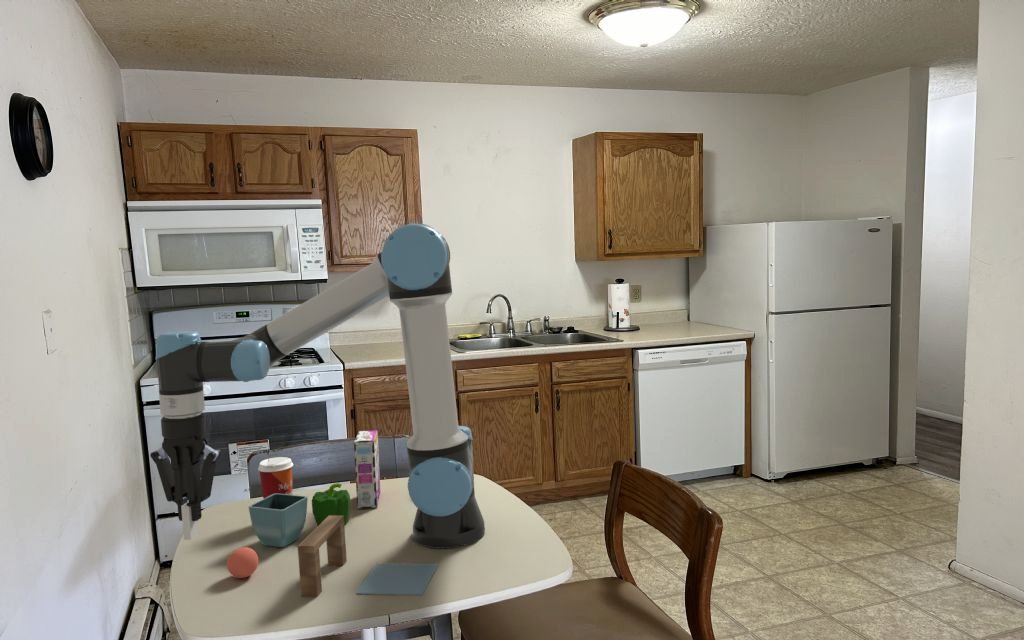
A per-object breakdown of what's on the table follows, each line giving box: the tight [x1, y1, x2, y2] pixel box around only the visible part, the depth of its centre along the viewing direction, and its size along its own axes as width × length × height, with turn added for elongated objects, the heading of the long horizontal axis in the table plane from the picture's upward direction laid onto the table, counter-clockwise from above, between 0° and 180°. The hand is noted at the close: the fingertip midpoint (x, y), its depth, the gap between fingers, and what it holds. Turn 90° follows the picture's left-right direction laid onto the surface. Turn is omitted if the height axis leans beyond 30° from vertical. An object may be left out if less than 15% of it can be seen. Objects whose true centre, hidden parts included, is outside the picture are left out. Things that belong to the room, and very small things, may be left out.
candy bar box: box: [353, 429, 381, 510], centre depth 172 cm, size 11×5×16 cm, turn 6°
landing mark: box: [355, 563, 438, 596], centre depth 130 cm, size 12×12×1 cm
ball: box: [226, 546, 259, 579], centre depth 133 cm, size 6×6×6 cm
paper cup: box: [257, 456, 294, 499], centre depth 161 cm, size 8×8×14 cm
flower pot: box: [248, 493, 309, 548], centre depth 149 cm, size 9×9×9 cm
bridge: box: [297, 516, 347, 598], centre depth 131 cm, size 3×14×9 cm, turn 173°
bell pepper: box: [311, 482, 352, 527], centre depth 156 cm, size 8×8×10 cm
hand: (191, 536), depth 134 cm, fingers closed
